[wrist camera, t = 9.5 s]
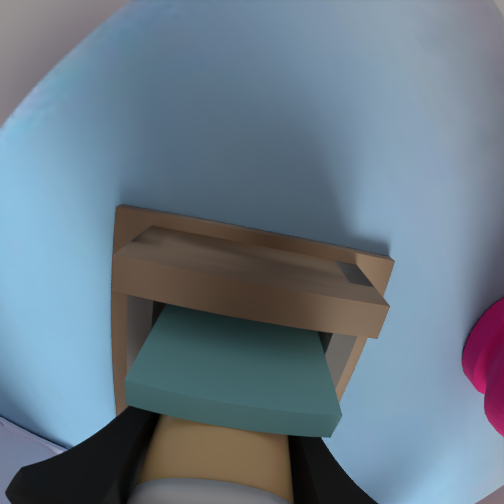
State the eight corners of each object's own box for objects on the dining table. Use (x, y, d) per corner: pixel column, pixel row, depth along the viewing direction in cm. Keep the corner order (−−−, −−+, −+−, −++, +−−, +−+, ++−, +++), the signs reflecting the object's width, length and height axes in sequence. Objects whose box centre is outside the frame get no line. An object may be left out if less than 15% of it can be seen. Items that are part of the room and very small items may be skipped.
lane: (124, 451, 18) (106, 499, 14) (121, 204, 13) (67, 228, 9) (292, 480, 19) (296, 530, 14) (389, 256, 14) (436, 299, 9)
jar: (172, 404, 14) (131, 543, 7) (178, 321, 13) (111, 482, 5) (271, 420, 15) (276, 564, 7) (297, 341, 13) (326, 512, 6)
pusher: (171, 310, 14) (125, 404, 8) (174, 290, 13) (124, 379, 8) (306, 335, 14) (330, 437, 8) (312, 316, 14) (341, 415, 8)
